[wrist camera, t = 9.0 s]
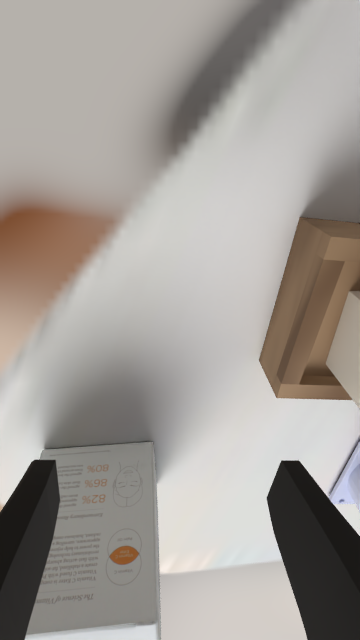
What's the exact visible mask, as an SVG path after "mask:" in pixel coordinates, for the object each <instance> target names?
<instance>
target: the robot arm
mask: <svg viewBox="0 0 360 640" xmlns="http://www.w3.org/2000/svg"><path fill="white" fill-rule="evenodd" d="M267 502H268V507H269V512H270V517H271V521H272V526H273V530H274V534H275V537H276V541H277V544H278V547H279V550H280V553H281V556H282V559H283V562H284V565H285V568H286V571H287V574H288V578H289V580H290V584H291V587H292V590H293V593H294V596H295V599H296V602H297V605H298V608H299V611H300V614H301V618H302V621H303V624H304V628H305V631H306V635H307V639H308V640H360V536H359V535H358V534H357V532H356V531H355V530H354V529H353V528H352V526H351V525H350V524H349V523H348V522H347V520H346V519H345V518H344V517H343V516H342V514H341V513H340V512H339V511H338V510H337V508H336V507H335V506H334V505H333V504H356V506H357V508H358V510H359V512H360V441H359V443H358V445H357V447H356V448H355V450H354V452H353V454H352V456H351V458H350V459H349V461H348V463H347V465H346V467H345V469H344V470H343V472H342V474H341V476H340V478H339V480H338V482H337V483H336V485H335V487H334V489H333V491H332V493H331V494H330V496H329V498H328V497H327V496H326V494H325V493H324V492H323V491H322V489H321V488H320V487H319V486H318V484H317V483H316V482H315V480H314V479H313V478H312V477H311V475H310V474H309V473H308V471H307V470H306V469H305V468H304V466H303V465H302V464H301V463H300V461H281V463H280V465H279V468H278V471H277V473H276V476H275V478H274V481H273V483H272V486H271V488H270V491H269V493H268V496H267ZM59 504H60V494H59V485H58V476H57V467H56V460H34V461H32V462H31V464H30V466H29V467H28V469H27V471H26V473H25V474H24V476H23V478H22V479H21V481H20V483H19V484H18V486H17V487H16V489H15V491H14V492H13V494H12V495H11V497H10V498H9V500H8V501H7V503H6V504H5V506H4V507H3V509H2V510H1V512H0V640H25V636H26V633H27V629H28V625H29V621H30V618H31V614H32V611H33V607H34V604H35V600H36V597H37V593H38V590H39V586H40V583H41V579H42V576H43V572H44V569H45V565H46V562H47V558H48V555H49V551H50V548H51V544H52V540H53V537H54V531H55V526H56V521H57V515H58V510H59Z"/></svg>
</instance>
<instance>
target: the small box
mask: <svg viewBox="0 0 360 640" xmlns="http://www.w3.org/2000/svg"><path fill="white" fill-rule="evenodd" d="M39 460H56V467H57V476H58V485H59V494H60V504H59V510H58V515H57V521H56V526H55V531H54V537H53V540H52V544H51V548H50V551H49V555H48V558H47V562H46V565H45V569H44V572H43V576H42V579H41V583H40V586H39V590H38V593H37V597H36V600H35V604H34V607H33V611H32V614H31V618H30V621H29V625H28V629H27V633H26V636H25V640H161V616H160V575H159V537H158V507H157V483H156V468H155V456H154V444H153V442H140V443H126V444H113V445H99V446H86V447H72V448H60V449H46V450H43V451H42V453H41V456H40V459H39Z"/></svg>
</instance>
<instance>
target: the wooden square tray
mask: <svg viewBox="0 0 360 640" xmlns="http://www.w3.org/2000/svg"><path fill="white" fill-rule="evenodd" d="M349 291H360V223H353V222H343V221H333V220H323V219H313V218H303V217H300V218H299V222H298V225H297V229H296V232H295V236H294V239H293V243H292V246H291V250H290V253H289V257H288V260H287V264H286V267H285V271H284V274H283V278H282V281H281V285H280V288H279V292H278V295H277V299H276V302H275V306H274V310H273V313H272V317H271V320H270V324H269V327H268V331H267V334H266V338H265V341H264V345H263V348H262V352H261V355H260V359H259V362H260V364H261V366H262V368H263V370H264V372H265V374H266V376H267V379H268V381H269V383H270V385H271V387H272V389H273V391H274V393H275V396H276V398H295V399H332V400H352V398H351V397H350V396H349V394H348V393H347V392H346V390H345V389H344V388H343V386H342V385H341V384H340V382H339V381H338V380H337V378H336V377H335V376H334V374H333V373H332V372H331V370H330V369H329V368H328V366H327V365H326V361H327V358H328V355H329V352H330V348H331V345H332V342H333V339H334V336H335V333H336V330H337V327H338V324H339V320H340V317H341V314H342V311H343V308H344V305H345V302H346V299H347V296H348V293H349Z"/></svg>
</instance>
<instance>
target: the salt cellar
mask: <svg viewBox="0 0 360 640" xmlns="http://www.w3.org/2000/svg"><path fill="white" fill-rule="evenodd" d="M326 365H327V366H328V368H329V369H330V370H331V372H332V373H333V374H334V376H335V377H336V378H337V380H338V381H339V382H340V384H341V385H342V386H343V388H344V389H345V390H346V392H347V393H348V394H349V396H350V397H351V398H352V400H353V401H354V402H355V404H356V405H357V406H358V408H359V409H360V291H349V293H348V296H347V299H346V302H345V305H344V308H343V311H342V314H341V317H340V320H339V324H338V327H337V330H336V333H335V336H334V339H333V342H332V345H331V348H330V352H329V355H328V358H327V361H326Z"/></svg>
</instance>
